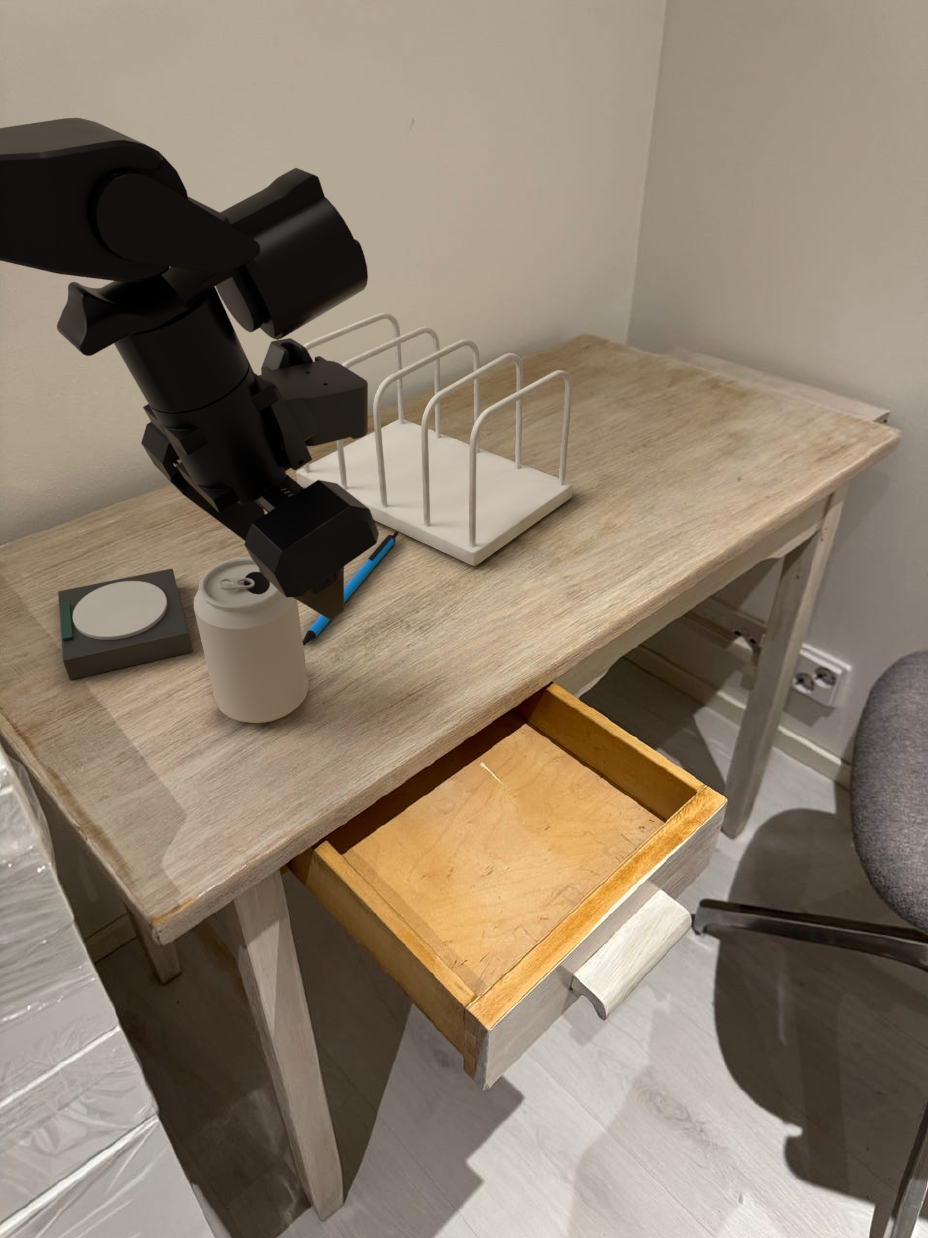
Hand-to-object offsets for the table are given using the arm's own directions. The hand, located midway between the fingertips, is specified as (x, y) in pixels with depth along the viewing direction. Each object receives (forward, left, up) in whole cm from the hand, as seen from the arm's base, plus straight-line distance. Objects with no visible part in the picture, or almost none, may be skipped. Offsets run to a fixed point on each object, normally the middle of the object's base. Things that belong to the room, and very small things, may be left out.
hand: (299, 579), depth 59 cm
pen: (-1, +20, -16) cm, 25 cm away
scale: (-20, +12, -16) cm, 28 cm away
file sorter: (+5, +38, -16) cm, 41 cm away
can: (-6, +5, -16) cm, 18 cm away
